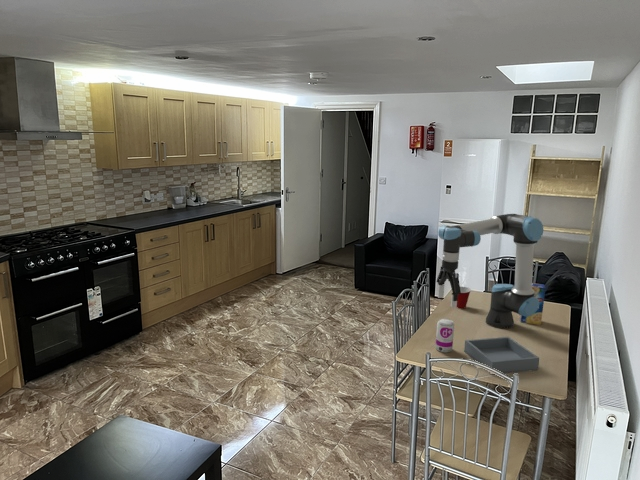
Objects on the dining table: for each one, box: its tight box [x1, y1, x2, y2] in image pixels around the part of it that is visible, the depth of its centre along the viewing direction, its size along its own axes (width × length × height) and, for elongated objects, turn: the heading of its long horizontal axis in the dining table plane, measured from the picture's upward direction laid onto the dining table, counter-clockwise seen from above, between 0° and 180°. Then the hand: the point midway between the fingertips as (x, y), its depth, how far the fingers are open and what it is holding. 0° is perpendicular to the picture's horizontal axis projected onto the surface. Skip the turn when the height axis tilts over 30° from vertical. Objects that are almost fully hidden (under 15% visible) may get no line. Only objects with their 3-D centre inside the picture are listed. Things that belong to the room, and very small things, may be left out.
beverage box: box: [519, 282, 546, 325], centre depth 279 cm, size 7×11×22 cm, turn 72°
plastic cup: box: [456, 286, 472, 309], centre depth 301 cm, size 11×11×12 cm
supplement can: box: [435, 318, 455, 354], centre depth 240 cm, size 8×8×15 cm
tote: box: [463, 336, 540, 374], centre depth 230 cm, size 24×24×6 cm
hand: (446, 302), depth 236 cm, fingers open, 13 cm apart
